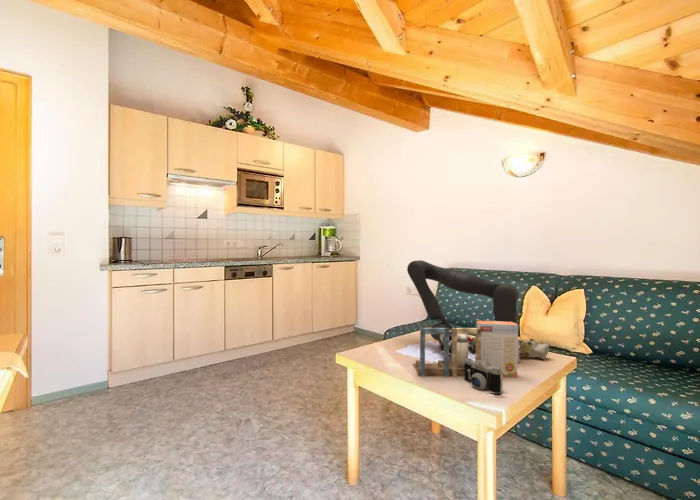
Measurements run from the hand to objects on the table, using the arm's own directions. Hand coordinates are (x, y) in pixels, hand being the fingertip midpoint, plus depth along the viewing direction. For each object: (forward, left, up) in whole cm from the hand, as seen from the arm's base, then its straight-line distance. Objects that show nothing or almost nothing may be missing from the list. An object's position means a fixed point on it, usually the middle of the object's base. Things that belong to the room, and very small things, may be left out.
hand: (463, 351), depth 132 cm
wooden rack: (+6, -3, -9) cm, 11 cm away
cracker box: (-12, +1, -9) cm, 15 cm away
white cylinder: (0, -2, -8) cm, 8 cm away
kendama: (-19, -33, -9) cm, 39 cm away
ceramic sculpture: (-37, -21, -9) cm, 44 cm away
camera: (-2, +13, -9) cm, 16 cm away
